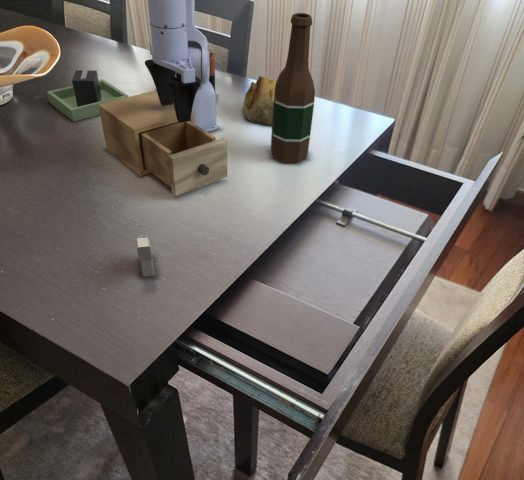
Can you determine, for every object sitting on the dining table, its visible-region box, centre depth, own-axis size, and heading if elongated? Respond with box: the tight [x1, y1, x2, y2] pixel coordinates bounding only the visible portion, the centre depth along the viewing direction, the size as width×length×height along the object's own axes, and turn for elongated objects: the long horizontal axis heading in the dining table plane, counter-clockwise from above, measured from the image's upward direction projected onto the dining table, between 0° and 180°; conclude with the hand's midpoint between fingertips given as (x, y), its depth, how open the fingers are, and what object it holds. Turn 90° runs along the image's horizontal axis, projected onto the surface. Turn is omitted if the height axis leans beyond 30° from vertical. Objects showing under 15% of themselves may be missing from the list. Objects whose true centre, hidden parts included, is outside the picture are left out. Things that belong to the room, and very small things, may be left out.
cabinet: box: [98, 89, 195, 177], centre depth 92 cm, size 13×13×9 cm
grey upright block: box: [135, 233, 155, 278], centre depth 68 cm, size 7×2×8 cm, turn 13°
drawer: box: [139, 121, 228, 197], centre depth 87 cm, size 13×11×7 cm
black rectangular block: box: [71, 69, 101, 107], centre depth 106 cm, size 6×4×6 cm
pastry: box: [241, 75, 277, 126], centre depth 107 cm, size 14×12×8 cm
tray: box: [46, 79, 130, 123], centre depth 108 cm, size 14×12×2 cm
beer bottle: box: [270, 12, 316, 164], centre depth 89 cm, size 8×8×24 cm
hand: (175, 112), depth 86 cm, fingers open, 7 cm apart
